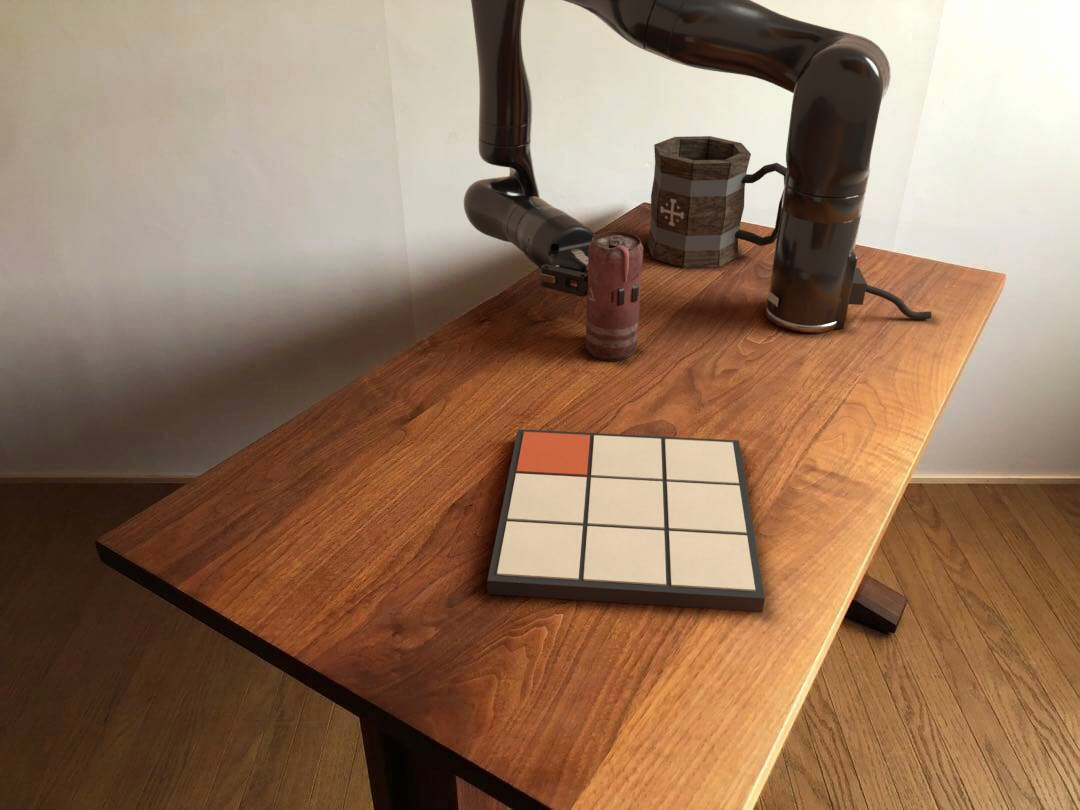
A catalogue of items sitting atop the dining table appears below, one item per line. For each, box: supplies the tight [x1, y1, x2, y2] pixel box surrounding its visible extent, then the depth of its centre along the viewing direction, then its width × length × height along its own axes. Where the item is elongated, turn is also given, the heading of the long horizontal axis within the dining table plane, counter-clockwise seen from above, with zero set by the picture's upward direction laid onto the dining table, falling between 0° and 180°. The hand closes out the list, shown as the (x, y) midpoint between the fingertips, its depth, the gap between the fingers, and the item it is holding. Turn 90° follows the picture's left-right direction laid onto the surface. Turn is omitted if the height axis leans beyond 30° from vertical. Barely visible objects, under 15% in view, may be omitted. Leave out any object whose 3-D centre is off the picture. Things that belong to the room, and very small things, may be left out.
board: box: [486, 428, 766, 613], centre depth 82 cm, size 22×22×2 cm
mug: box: [646, 135, 787, 269], centre depth 130 cm, size 20×14×15 cm
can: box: [585, 230, 644, 362], centre depth 105 cm, size 6×6×14 cm
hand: (628, 296), depth 102 cm, fingers closed
